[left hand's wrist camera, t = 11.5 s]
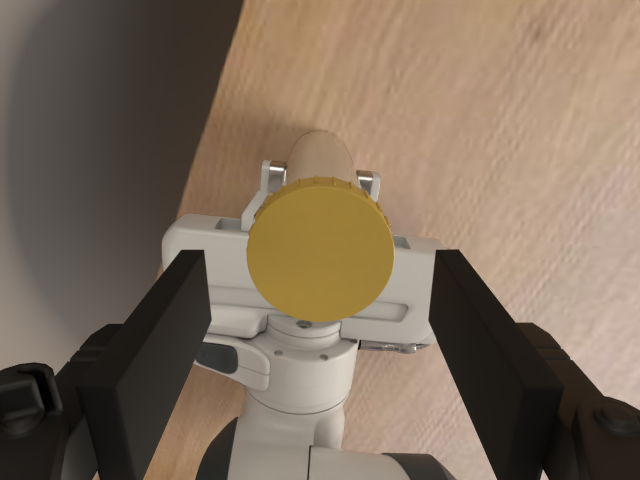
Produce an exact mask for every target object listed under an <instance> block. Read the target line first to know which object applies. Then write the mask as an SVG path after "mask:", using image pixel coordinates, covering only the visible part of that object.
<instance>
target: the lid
mask: <svg viewBox="0 0 640 480" xmlns="http://www.w3.org/2000/svg"><path fill="white" fill-rule="evenodd" d="M254 219H255V223H254V224H252V226H251V228H250V230H249V232H248V235H249V239H248V243H247V248H246V251H247V265H248V270H249V273H250V276H251V278H252V281H253V283H254V285H255V286H256V288H257V290H258V291H259V293H260V294H261V295H262V296H263V297H264V299H265V300H267V301H268V302H269V303H270V304H271V305H272V306H274V307H275V308H276V309H278V310H279V311H281V312H283V313H285V314H287V315H289V316H292V317H294V318H297V319H301V320H305V321H311V322H330V321H336V320H341V319H344V318H347V317H350V316H352V315H354V314H357V313H358V312H360V311H362V310H363V309H365V308H366V307H368V306H369V305H370V304H371V303H372V302H374V301H375V300H376V299H377V298H378V296H379V295H380V294H381V293H382V291H383V290H384V288H385V287H386V285H387V283H388V281H389V279H390V277H391V274H392V270H393V267H394V259H395V248H394V243H395V241H394V238H393V236H392V234H391V231H390V229H389V227H391V226H390V224H389V221H388V219H387V217H386V216H383V213H382V210H381V207H380V205H379V203H378V202H375V201H374V200H373V199H372V198H371V197H370V196H369V195H368V192H367V191H366V190H364V191H363V190H361V189H360V188H358V187H357V186H355V185H353V183H352V182H351V181H350V182H346V181H343V180H340V179H336V178H335V176H333V177H332V178H330V177H317V175H315V177H311V178H306V179H301V180H300V178H298V179H297V181H295V182H292V183H290V184H288V185H286V186H284V185H282V186H281V188H280V190H278V191H277V192H276V193H274V194H273V195H272V196H270V195H269V196H268V198H267V200H266V203H265V204H264V205H263V207H262V208H261V209H258V211H257V213H256V216H255V218H254Z"/></svg>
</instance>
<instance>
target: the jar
mask: <svg viewBox="0 0 640 480" xmlns="http://www.w3.org/2000/svg"><path fill="white" fill-rule="evenodd" d="M315 175H317V177H330V178H332V177H333V176H335V178H336V179H340V180H343V181H346V182H350V181H351V182H352V183H353V185H355V186H357V187H358V188H360V189H361V190H363V189H362V186H361V184H360V181H359V178H358V175H357V173H356V170H355V167H354V164H353V162H352V159H351V156H350V153H349V151H348V148H347V146H346V145H345V143H344V142H343V141H342V140H341V139H340V138H339V137H338V136H336V135H334V134H332V133H330V132H326V131H314V132H310V133H308V134H306V135H304V136H303V137H301V138H300V139H299V140H298V141H297V142H296V143H295V145H294V147H293V149H292V151H291V154H290V157H289V159H288V162H287V165H286V168H285V171H284V174H283V177H282V179H281V182H280V185H279V188H278V190H280V188H281V186H282V185H284V186H286V185H288V184H290V183H292V182H295V181H297V179H298V178H300V180H301V179H306V178H311V177H315Z"/></svg>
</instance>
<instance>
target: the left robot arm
mask: <svg viewBox="0 0 640 480" xmlns="http://www.w3.org/2000/svg"><path fill="white" fill-rule="evenodd" d="M211 321H212V317H211V307H210V298H209V289H208V280H207V271H206V262H205V253H204V250H181V251H180V252H179V253H178V254H177V256H176V257H175V258H174V260H173V261H172V262H171V263H170V265H169V266H168V267H167V269H166V270H165V271H164V272H163V274H162V275H161V276H160V278H159V279H158V280H157V281H156V283H155V284H154V285H153V287H152V288H151V289H150V290H149V292H148V293H147V294H146V296H145V297H144V298H143V299H142V301H141V302H140V303H139V305H138V306H137V307H136V309H135V310H134V311H133V312H132V314H131V315H130V316H129V318H128V319H127V320H126V321H125V323H124V324H107V325H106V326H104V327H103V328H101V329H100V330H98V331H96V332H95V333H94V334H92V335H91V336H90V337H89V338H88V339H87V340H86V341H85V343H84V344H83V345H82V346H81V347H80V350H79V351H77V352H76V353H75V354H74V355H73V356H72V357H71V359H70V362H67V363H66V364H65V366H64V367H63V368H62V369H61V370H60V371H59V372H58V374H57V375H56V376H54V372H53V369H52V368H51V367H49V366H48V365H46V364H42V363H25V364H19V365H15V366H12V367H9V368H5V369H3V370H1V371H0V480H92V479H93V477H94V475H95V474H96V472H97V471H98V474H99V478H100V480H143V478H144V476H145V473H146V471H147V469H148V466H149V464H150V462H151V460H152V457H153V455H154V453H155V450H156V448H157V446H158V443H159V441H160V439H161V436H162V434H163V432H164V430H165V427H166V425H167V423H168V420H169V418H170V416H171V413H172V411H173V409H174V407H175V404H176V402H177V400H178V397H179V395H180V393H181V390H182V388H183V386H184V383H185V381H186V379H187V377H188V374H189V372H190V370H191V367H192V365H193V363H194V360H195V358H196V356H197V353H198V351H199V349H200V347H201V344H202V342H203V340H204V337H205V335H206V333H207V330H208V328H209V326H210V324H211ZM428 321H429V324H430V326H431V328H432V330H433V333H434V335H435V337H436V340H437V342H438V344H439V347H440V349H441V351H442V353H443V356H444V358H445V360H446V363H447V365H448V367H449V370H450V372H451V374H452V377H453V379H454V381H455V383H456V386H457V388H458V390H459V393H460V395H461V397H462V400H463V402H464V404H465V407H466V409H467V411H468V413H469V416H470V418H471V420H472V423H473V425H474V427H475V430H476V432H477V434H478V436H479V439H480V441H481V443H482V446H483V448H484V450H485V453H486V455H487V457H488V460H489V462H490V464H491V466H492V469H493V471H494V473H495V476H496V478H497V480H540V478H541V474H542V471H543V470H544V472H545V473H546V475H547V477H548V479H549V480H640V410H638V409H636V408H634V407H633V406H631V405H629V404H627V403H625V402H623V401H620V400H617V399H614V398H611V397H605V396H603V394H602V393H601V392H600V391H599V390H598V389H597V388H596V386H595V385H594V384H593V383H592V382H591V381H590V380H589V378H588V377H587V376H586V375H585V374H584V373H583V372H582V370H581V369H580V368H579V367H578V366H577V365H576V364H575V362H574V361H573V360H570V357H569V356H568V354H567V353H566V352H565V351H564V350H563V349H561V346H560V345H559V344H558V343H557V342H556V341H555V340H554V338H553V337H552V336H551V335H550V334H549V333H548V332H546V331H544V330H543V329H541V328H540V327H538V326H537V325H535V324H533V323H515V321H514V320H513V319H512V317H511V316H510V315H509V314H508V312H507V311H506V310H505V308H504V307H503V306H502V305H501V303H500V302H499V301H498V299H497V298H496V297H495V296H494V294H493V293H492V292H491V290H490V289H489V288H488V287H487V285H486V284H485V283H484V281H483V280H482V279H481V278H480V276H479V275H478V274H477V272H476V271H475V270H474V269H473V267H472V266H471V265H470V263H469V262H468V261H467V260H466V258H465V257H464V256H463V254H462V253H461V252H460V251H459V250H436V253H435V262H434V271H433V280H432V289H431V298H430V307H429V317H428Z"/></svg>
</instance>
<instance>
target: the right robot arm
mask: <svg viewBox="0 0 640 480" xmlns="http://www.w3.org/2000/svg"><path fill="white" fill-rule="evenodd" d="M285 168H286V162H279V161H271V160H264V161H263V163H262V169H261V182H260V187H259V189H258V190H257V191H256V193H255V194H254V196H253V197H252V199H251V200H250V201H249V203H248V204H247V206H246V208H245V210H244V211H243V213H242V219H240V218H230V217H221V216H211V215H202V214H193V213H187V214H184V215H182V216H181V217H180V218H179V219H178V220H176V221H175V222H174V223H173V224H172V225H171V226H170V227H169V229H168V230H167V231H166V233H165V234H164V236H163V239H162V265H163V272H164V271H165V270H166V269H167V267H168V266H169V265H170V263H171V262H172V261H173V260H174V258H175V257H176V256H177V254H178V253H179V252H180V251H181V250H204V253H205V262H206V271H207V280H208V289H209V298H210V307H211V317H212V321H211V324H210V326H209V328H208V330H207V333H206V335H205V337H204V340H203V342H202V344H201V347H200V349H199V351H198V353H197V356H196V358H195V360H194V363H193V364H194V365H197V366H200V367H203V368H206V369H208V370H211V371H214V372H216V373H219V374H221V375H224V376H226V377H229V378H231V379H233V380H235V381H237V382H239V383H241V384H243V385H244V388H245V393H246V398H245V400H244V402H243V404H242V407H241V413H240V417H236V418H235V419H233V420H232V421H231V422H230V423H229V424H227V425H226V427H225V428H224V429H223V430H222V431H221V432H220V433H219V434H218V435H217V436H216V437H215V439H214V440H213V441H212V442H211V443H210V445H209V447H208V448H207V450H206V452H205V454H204V456H203V458H202V461H201V463H200V466H199V469H198V472H197V475H196V479H195V480H456V479H455V478H454V476H453V475H452V474H451V473H450V472H449V471H448V470H447V469H446V468H445V467H444V466H443V465H442V464H441V463H440V462H438V461H437V460H436V459H435V458H434V457H433V456H431V455H429V454H408V453H382V454H373V453H365V452H357V451H348V450H340V446H341V442H342V437H343V432H344V424H345V417H344V411H343V405H344V403H345V402H346V400H347V398H348V396H349V393H350V390H351V386H352V380H353V374H354V368H355V362H356V357H357V350H359V349H361V350H372V351H396V352H398V353H404V354H410V353H415V351H416V349H422V348H425V347H427V346H429V345H430V344H433V343H434V342H435V340H436V337H435V335H434V333H433V330H432V328H431V326H430V324H429V321H428V317H429V307H430V298H431V289H432V280H433V271H434V262H435V253H436V250H447V249H446V247H445V246H444V245H443V244H442V243H441V242H440V241H439V240H437V239H431V238H421V237H411V236H402V235H392V236H393V238H394V241H395V243H394V248H395V259H394V267H393V270H392V274H391V277H390V279H389V281H388V283H387V285H386V287H385V288H384V290H383V291H382V293H381V294H380V295H379V296H378V298H377V299H376V300H375V301H374V302H372V303H371V304H370V305H369V306H368V307H366V308H365V309H363V310H362V311H360V312H358V313H357V314H354V315H352V316H350V317H347V318H344V319H341V320H336V321H330V322H311V321H305V320H301V319H297V318H294V317H292V316H289V315H287V314H285V313H283V312H281V311H279V310H278V309H276V308H275V307H274V306H272V305H271V304H270V303H269V302H268V301H267V300H265V299H264V297H263V296H262V295H261V294H260V293H259V291H258V290H257V288H256V286H255V285H254V283H253V281H252V278H251V276H250V273H249V270H248V265H247V251H246V248H247V243H248V239H249V235H248V232H249V230H250V228H251V226H252V224H254V223H255V219H254V218H255V216H256V213H257V211H258V209H261V208H262V207H260V206H261V204H262V203H263V201H264V200H265V199H266V197H267V196H268V194H269V193H270V192H275V193H276V192H277V191H278V188H279V185H280V182H281V179H282V177H283V174H284V171H285ZM356 173H357V175H358V178H359V181H360V184H361V186H362V189H363V191H364V190H366V191H367V192H368V195H369V196H370V197H371V198H372V199H373V200H374V201H375V202H377V199H378V193H379V187H380V175H379V173H378V172H371V171H360V170H357V172H356ZM416 343H419V344H416Z"/></svg>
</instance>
